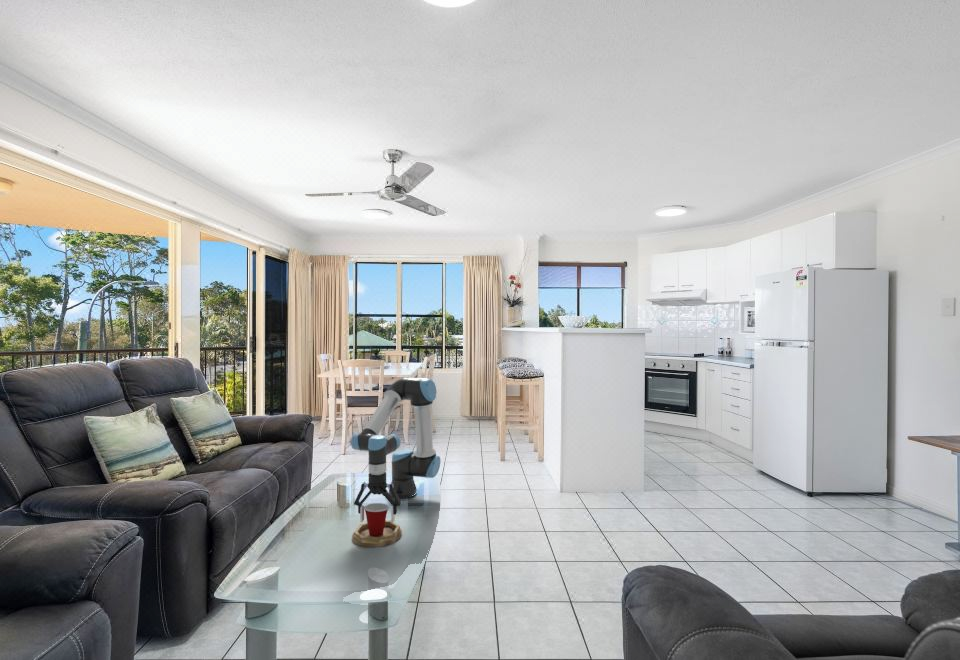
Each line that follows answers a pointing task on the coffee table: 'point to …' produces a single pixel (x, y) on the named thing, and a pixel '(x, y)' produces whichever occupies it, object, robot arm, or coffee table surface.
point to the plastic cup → (376, 518)
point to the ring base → (388, 537)
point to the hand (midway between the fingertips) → (377, 521)
